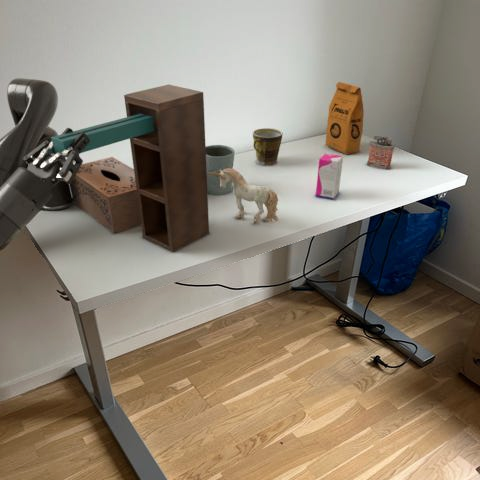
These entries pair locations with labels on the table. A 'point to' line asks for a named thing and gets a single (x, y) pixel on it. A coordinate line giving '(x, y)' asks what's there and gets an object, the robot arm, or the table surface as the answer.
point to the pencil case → (107, 133)
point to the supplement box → (329, 176)
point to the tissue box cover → (107, 193)
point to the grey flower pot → (218, 167)
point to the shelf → (171, 165)
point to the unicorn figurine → (249, 194)
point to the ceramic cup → (267, 145)
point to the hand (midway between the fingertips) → (79, 134)
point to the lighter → (380, 152)
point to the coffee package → (345, 119)
